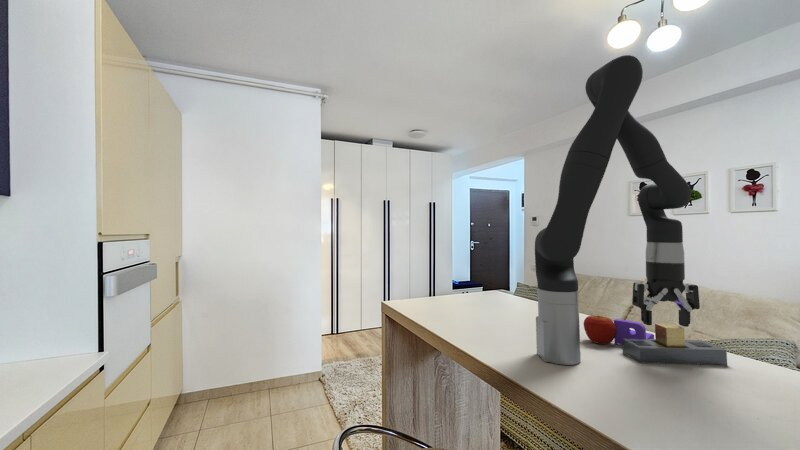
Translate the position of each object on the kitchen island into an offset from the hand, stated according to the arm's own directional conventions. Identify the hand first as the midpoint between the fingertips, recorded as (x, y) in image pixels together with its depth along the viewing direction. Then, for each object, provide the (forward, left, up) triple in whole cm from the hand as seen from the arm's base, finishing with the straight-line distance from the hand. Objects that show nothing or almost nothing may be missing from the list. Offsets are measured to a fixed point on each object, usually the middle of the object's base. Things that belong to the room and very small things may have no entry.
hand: (665, 325), depth 80 cm
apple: (-11, +10, -8) cm, 17 cm away
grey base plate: (+1, -1, -8) cm, 8 cm away
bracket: (0, +12, -9) cm, 15 cm away
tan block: (0, -1, -8) cm, 8 cm away
